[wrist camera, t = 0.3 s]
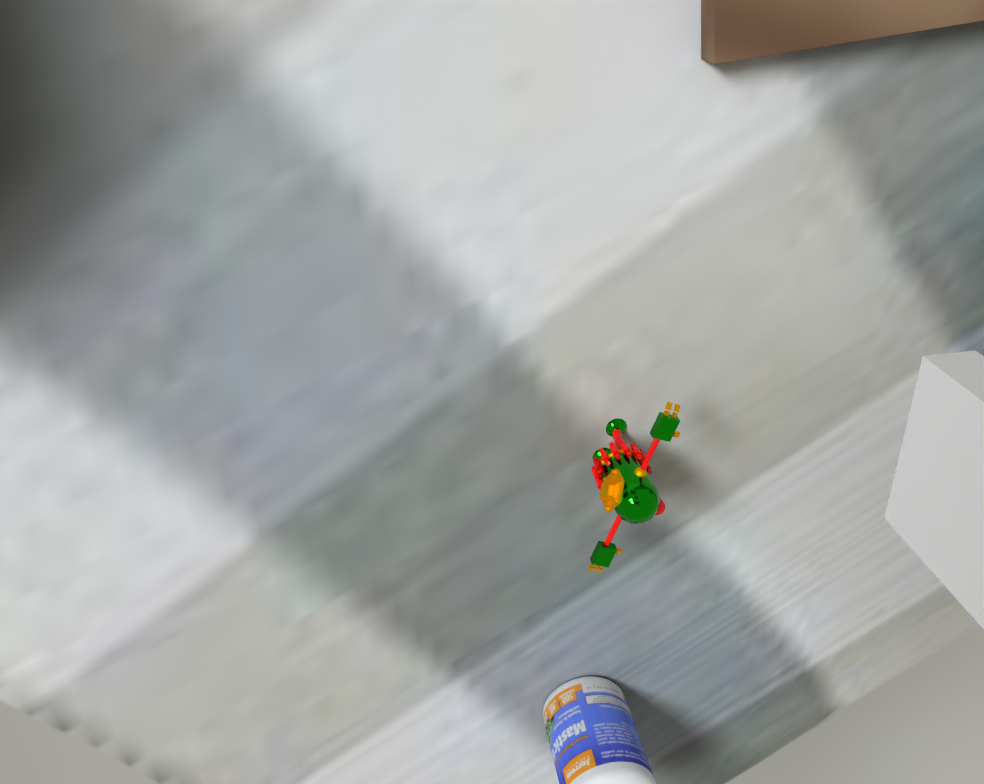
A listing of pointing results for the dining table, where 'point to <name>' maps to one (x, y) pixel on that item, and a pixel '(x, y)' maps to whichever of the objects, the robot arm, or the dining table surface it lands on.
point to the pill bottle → (594, 735)
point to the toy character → (628, 480)
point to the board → (818, 23)
